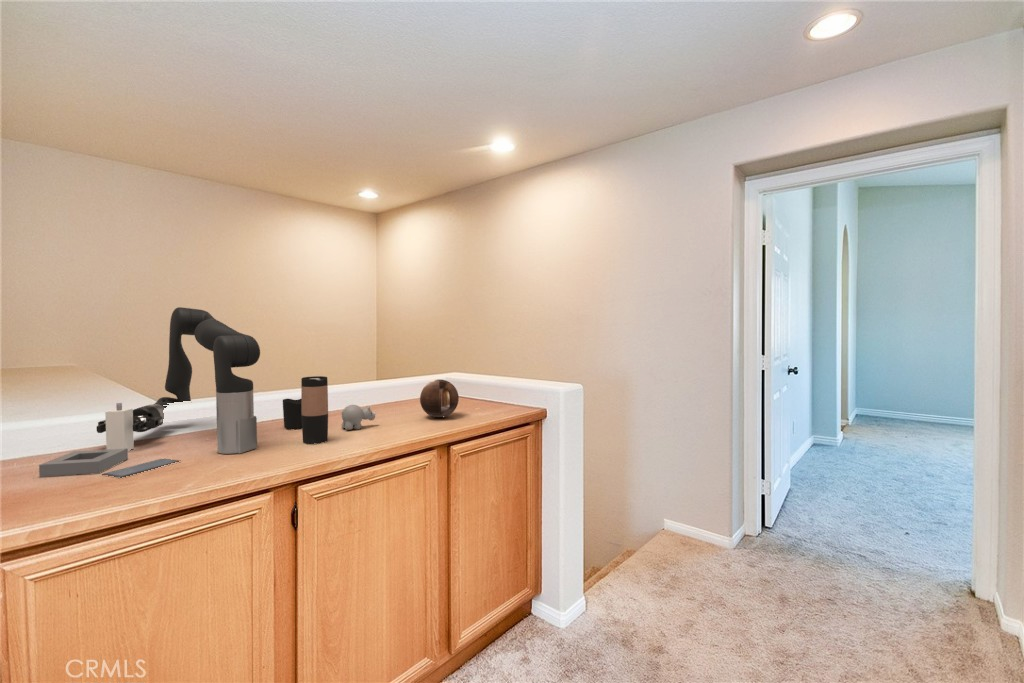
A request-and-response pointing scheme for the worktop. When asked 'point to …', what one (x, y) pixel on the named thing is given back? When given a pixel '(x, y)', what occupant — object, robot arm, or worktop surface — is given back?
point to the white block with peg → (119, 428)
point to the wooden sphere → (439, 398)
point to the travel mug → (314, 409)
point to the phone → (140, 468)
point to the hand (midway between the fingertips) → (116, 428)
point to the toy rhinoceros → (356, 416)
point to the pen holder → (292, 413)
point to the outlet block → (83, 462)
